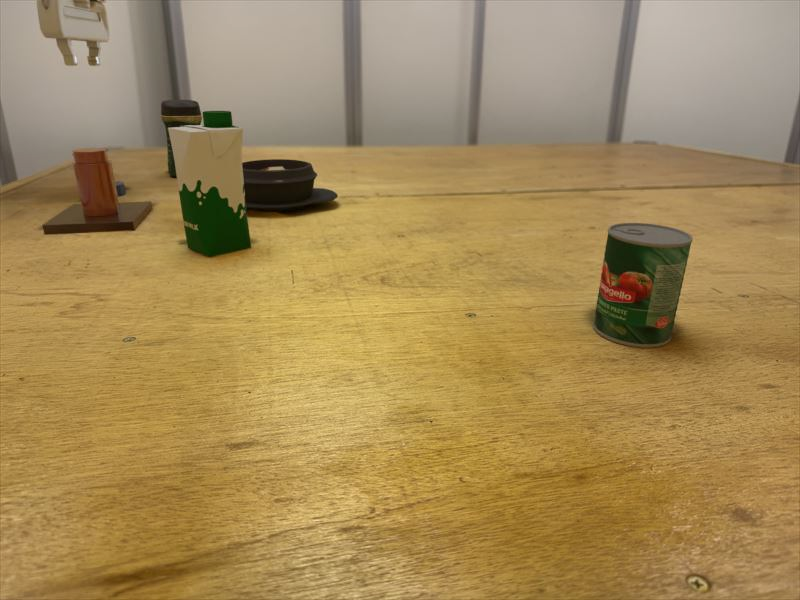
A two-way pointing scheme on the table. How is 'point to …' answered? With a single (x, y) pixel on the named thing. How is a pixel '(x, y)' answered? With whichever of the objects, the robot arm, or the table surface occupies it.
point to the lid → (120, 188)
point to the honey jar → (95, 182)
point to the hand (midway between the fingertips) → (83, 65)
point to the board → (98, 219)
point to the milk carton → (211, 184)
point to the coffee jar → (178, 121)
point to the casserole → (281, 185)
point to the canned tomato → (641, 283)
